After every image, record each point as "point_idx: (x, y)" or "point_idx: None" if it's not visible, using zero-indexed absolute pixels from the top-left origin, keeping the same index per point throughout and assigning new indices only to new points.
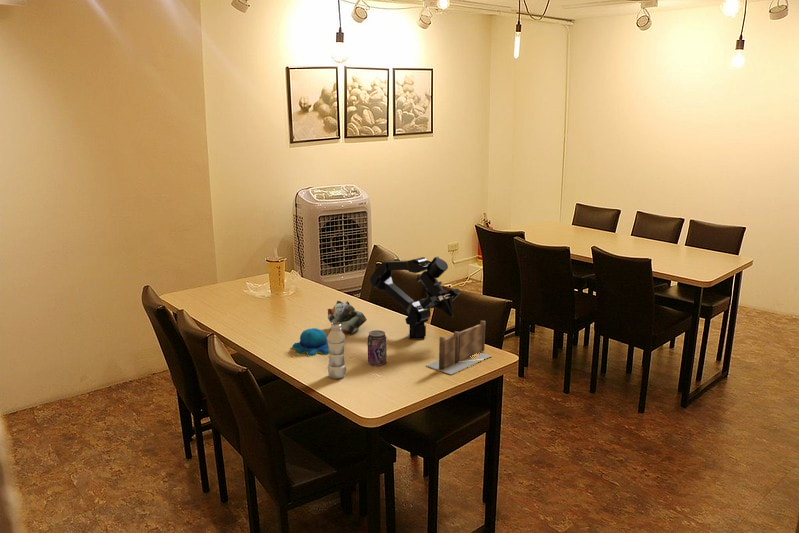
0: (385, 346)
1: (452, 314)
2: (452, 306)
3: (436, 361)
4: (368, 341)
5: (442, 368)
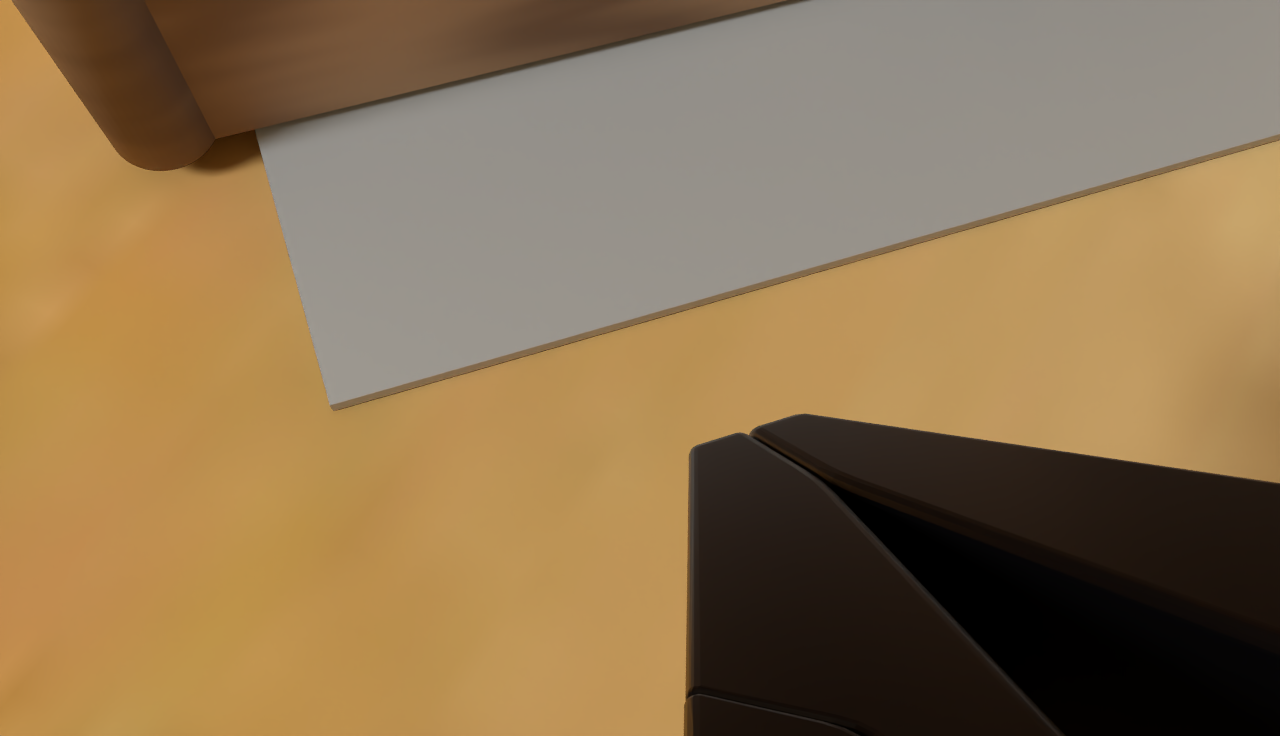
0: None
1: (790, 429)
2: (690, 700)
3: (1268, 122)
4: None
5: None
